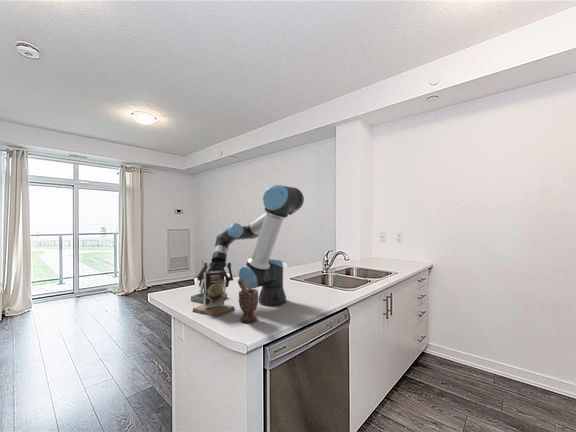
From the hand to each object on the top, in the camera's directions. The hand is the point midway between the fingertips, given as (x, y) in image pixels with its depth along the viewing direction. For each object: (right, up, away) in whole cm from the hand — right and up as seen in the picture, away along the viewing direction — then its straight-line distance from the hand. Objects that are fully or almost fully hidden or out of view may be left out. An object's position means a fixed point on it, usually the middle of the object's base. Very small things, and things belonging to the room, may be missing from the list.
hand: (212, 292), depth 131 cm
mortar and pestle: (+19, -10, -12) cm, 25 cm away
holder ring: (-8, -10, +22) cm, 25 cm away
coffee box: (0, -7, +3) cm, 7 cm away
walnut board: (0, -10, +3) cm, 10 cm away
